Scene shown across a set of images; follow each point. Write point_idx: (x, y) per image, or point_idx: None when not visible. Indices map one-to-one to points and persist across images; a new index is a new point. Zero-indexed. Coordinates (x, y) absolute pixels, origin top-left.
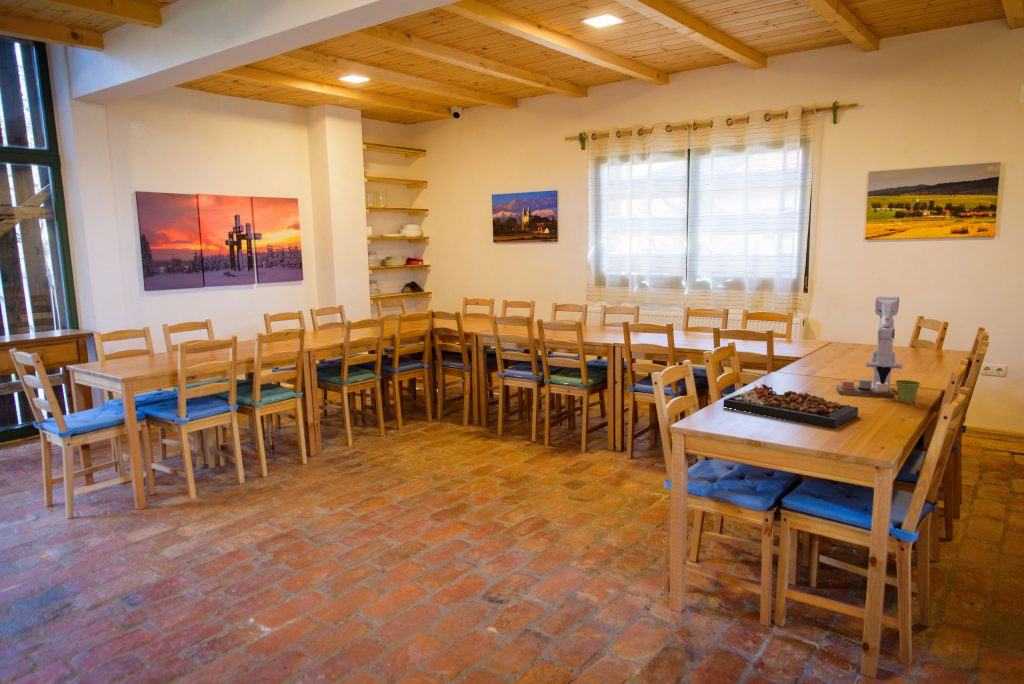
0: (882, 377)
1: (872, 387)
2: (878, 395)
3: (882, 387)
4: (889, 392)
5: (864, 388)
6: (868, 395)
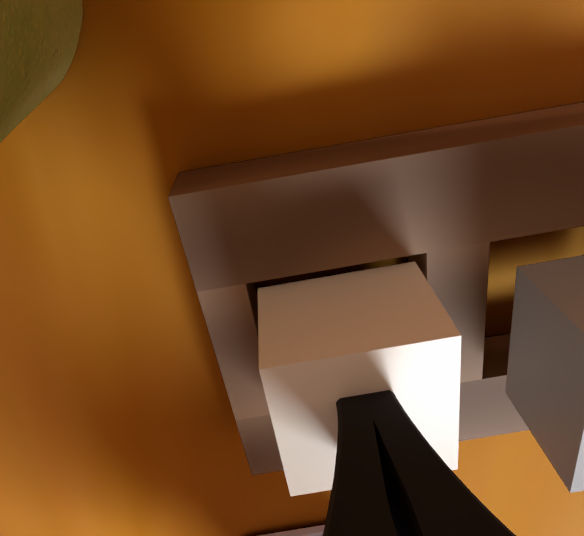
0: (416, 486)
1: None
2: (387, 143)
3: (354, 313)
4: (240, 251)
5: None
6: (524, 115)
